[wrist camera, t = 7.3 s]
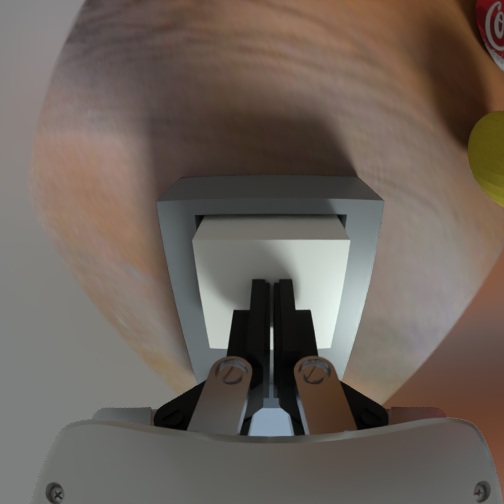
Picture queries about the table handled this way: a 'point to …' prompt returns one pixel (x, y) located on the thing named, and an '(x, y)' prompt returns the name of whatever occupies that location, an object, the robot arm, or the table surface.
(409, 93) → the table surface
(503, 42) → the soda can
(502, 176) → the lemon
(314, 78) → the table surface
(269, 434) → the slate key
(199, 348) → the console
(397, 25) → the table surface
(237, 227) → the ivory key
